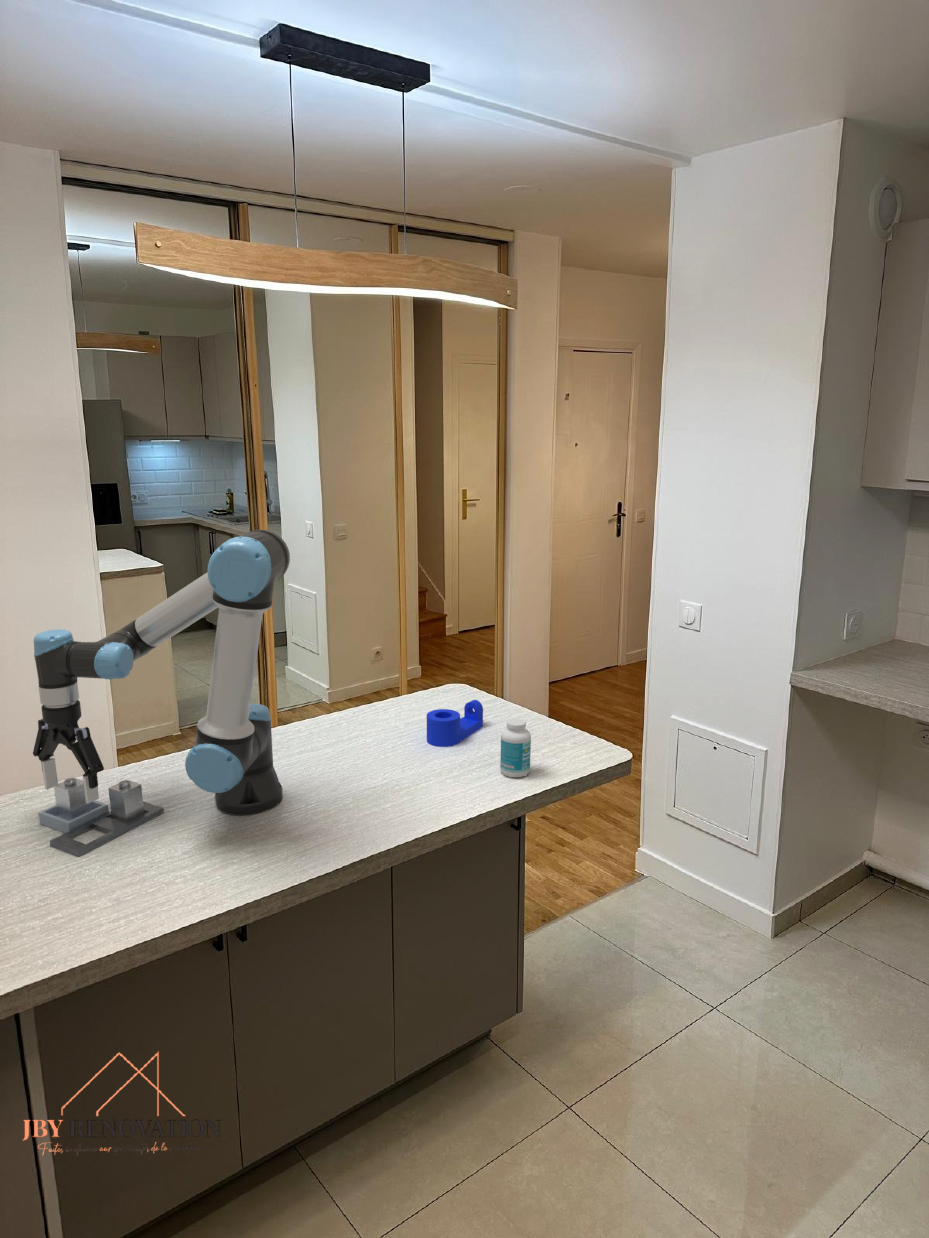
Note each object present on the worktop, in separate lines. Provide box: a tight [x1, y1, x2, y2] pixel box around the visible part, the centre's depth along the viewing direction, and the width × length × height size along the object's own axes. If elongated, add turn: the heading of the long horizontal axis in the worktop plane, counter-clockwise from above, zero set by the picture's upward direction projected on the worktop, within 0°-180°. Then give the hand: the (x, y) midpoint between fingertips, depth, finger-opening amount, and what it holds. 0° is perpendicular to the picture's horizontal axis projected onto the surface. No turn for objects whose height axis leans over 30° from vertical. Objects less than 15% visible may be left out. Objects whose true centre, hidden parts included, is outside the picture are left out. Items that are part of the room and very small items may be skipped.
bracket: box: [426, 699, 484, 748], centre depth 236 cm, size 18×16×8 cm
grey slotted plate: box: [49, 800, 165, 858], centre depth 185 cm, size 22×9×1 cm, turn 151°
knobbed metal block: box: [53, 777, 91, 821], centre depth 187 cm, size 5×5×9 cm
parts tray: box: [38, 800, 110, 834], centre depth 188 cm, size 10×10×3 cm
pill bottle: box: [499, 718, 532, 778], centre depth 211 cm, size 8×7×14 cm
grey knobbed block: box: [107, 779, 144, 824], centre depth 188 cm, size 5×5×9 cm
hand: (71, 793), depth 187 cm, fingers open, 13 cm apart
